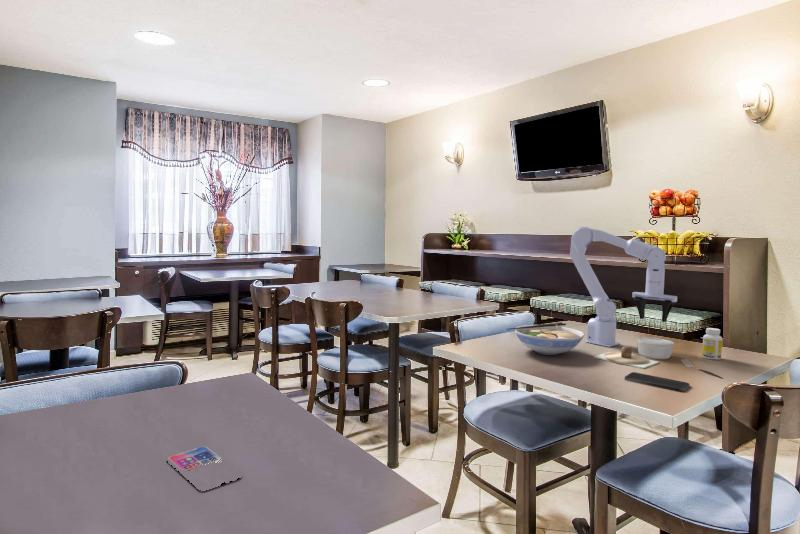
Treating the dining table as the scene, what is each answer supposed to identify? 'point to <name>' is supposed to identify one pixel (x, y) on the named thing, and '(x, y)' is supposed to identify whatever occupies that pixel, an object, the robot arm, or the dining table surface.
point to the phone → (657, 382)
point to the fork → (700, 369)
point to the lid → (626, 357)
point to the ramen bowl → (549, 338)
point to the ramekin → (655, 347)
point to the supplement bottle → (712, 344)
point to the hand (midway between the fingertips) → (652, 320)
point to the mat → (629, 364)
